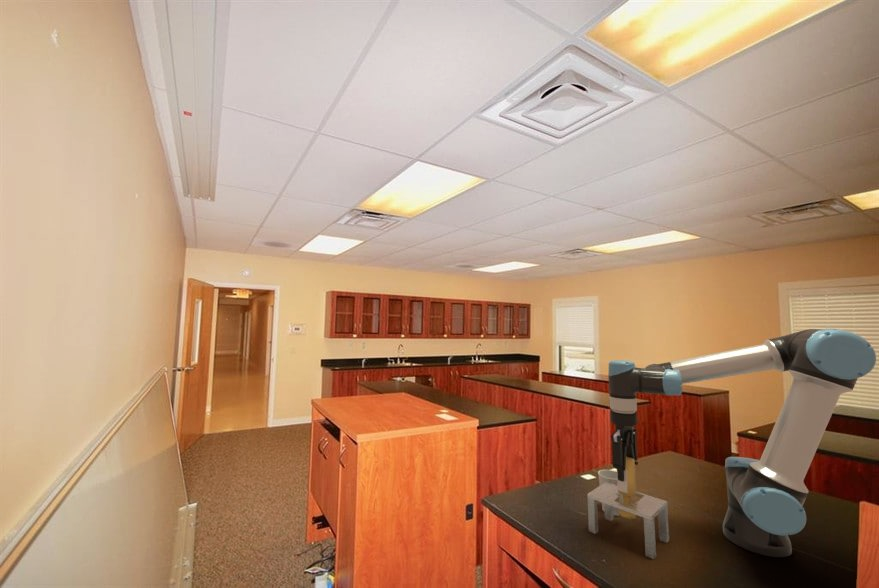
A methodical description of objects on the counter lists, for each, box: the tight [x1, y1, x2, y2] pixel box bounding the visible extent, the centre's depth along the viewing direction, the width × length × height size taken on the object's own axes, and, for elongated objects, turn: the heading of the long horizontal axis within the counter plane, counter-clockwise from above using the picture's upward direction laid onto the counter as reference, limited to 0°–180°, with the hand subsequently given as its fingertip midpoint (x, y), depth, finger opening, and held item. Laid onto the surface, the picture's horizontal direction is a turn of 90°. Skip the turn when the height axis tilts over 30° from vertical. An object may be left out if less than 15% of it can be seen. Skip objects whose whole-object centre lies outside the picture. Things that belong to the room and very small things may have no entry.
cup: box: [597, 469, 623, 517], centre depth 123 cm, size 8×8×12 cm
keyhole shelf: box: [586, 482, 670, 560], centre depth 108 cm, size 18×13×11 cm
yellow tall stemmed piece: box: [618, 456, 637, 520], centre depth 110 cm, size 5×5×16 cm
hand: (626, 488), depth 110 cm, fingers closed on yellow tall stemmed piece, 5 cm apart
